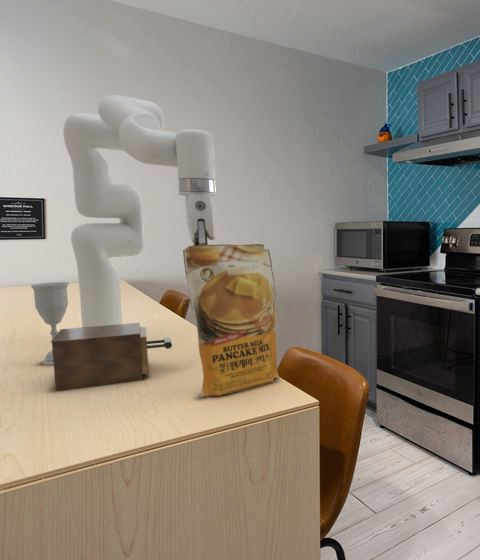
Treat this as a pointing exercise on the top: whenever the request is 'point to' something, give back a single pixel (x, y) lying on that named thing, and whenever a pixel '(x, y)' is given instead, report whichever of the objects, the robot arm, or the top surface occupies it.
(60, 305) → the chalice
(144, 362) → the drawer
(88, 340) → the cabinet
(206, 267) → the pancake mix bag
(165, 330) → the top surface
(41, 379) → the top surface
